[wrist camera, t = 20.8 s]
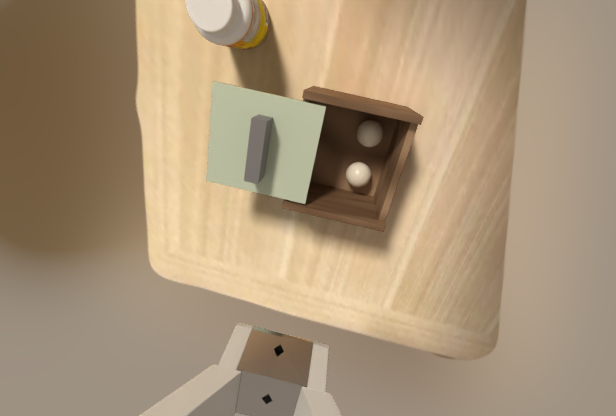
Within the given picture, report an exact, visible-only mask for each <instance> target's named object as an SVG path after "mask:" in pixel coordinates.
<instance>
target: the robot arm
mask: <svg viewBox="0 0 616 416" xmlns="http://www.w3.org/2000/svg"><path fill="white" fill-rule="evenodd" d="M328 356H329V346H328V344H324V343H319V342H315V341H312V340H307V339H303V338H298V337H295V336H290V335H286V334H281V333H277V332H273V331H270V330H266V329H262V328H259V327H255V326H250V325H247V324H243V323H240V322H238V324H237V325H236V327H235V329H234V331H233V333H232V336H231V338H230V340H229V342H228V345H227V347H226V349H225V351H224V353H223V356H222V358H221V360H220V362H219V364H218V365H215V364H214V365H212V366H210V367H209V368H207V369H206V370H204V371H203V372H201V373H200V374H199V375H197V376H196V377H194V378H193V379H191V380H190V381H188V382H187V383H186V384H184V385H183V386H181V387H180V388H179V389H177V390H176V391H174V392H173V393H171V394H170V395H168V396H167V397H166V398H164V399H163V400H161V401H160V402H158V403H157V404H155V405H154V406H152V407H151V408H150V409H148V410H147V411H145V412H144V413H143V414H141V415H139V416H233V415H234V414H235V413H240V414H245V415H249V416H342V415H341V413H340V411H339V409H338V407H337V405H336V403H335V401H334V399H333V397H332V395H331V394H330V393H326V383H327V368H328Z"/></svg>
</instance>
